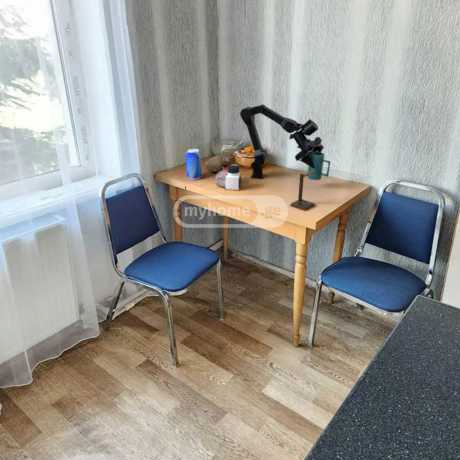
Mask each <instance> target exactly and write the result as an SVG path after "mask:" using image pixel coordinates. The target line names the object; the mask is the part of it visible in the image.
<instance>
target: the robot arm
mask: <svg viewBox="0 0 460 460" xmlns="http://www.w3.org/2000/svg"><path fill="white" fill-rule="evenodd" d="M258 114H261V115H263V116H265V117H266V118H268V119H270V120H271V121H273V122H275V124H278V125H279V126H280V128H281V129H283V130H284V131H285V132H286V133H287V134H289V136H288V140H294V141H295V143H296V144H297V149H300V151H299V152H298V153H296V155H294V159H295V161H296V162H298V161H299V162H301V163H303V164H305V165H306V166H308V167H309V166H310V167H312V168H315V166H314V164H313V162H312V160H311V159H310V153H311V152H321V153H322V152H323V150H324V149H325V147H324V146H323V144H322V142H323V140H322V138H321V137H320V136H316V137H314V139H313V140H312V139H310V138H307V136H308V137H310V136H312V135H313V134H314V133H315V132H317V131H318V130H319V126H318V124H317V123H316V122H314V121H313V120H312V119H311V118H309V119H308V120H307V121H306V122H305V123H299V122H298V121H296V120H295V119H292V118H290V117H285V116H283V115H282V114H280V113H278V112H276V111H274V109H271V108H270V107H268V106H266V105H265V104H264V103H263V104H260V105H256V106H253V107H251V106H246V107H245V108H242V109H241V110H240V112H239V115H240V118H241V119H242V122H243V123H244V124H245V125H246V128H247V132H248V135H249V138H250V141H251V144H252V148H253V158H254V161H253V162H252V163H250V167H251V169H252V174H251V177H250V178H251V179H261V180H262V179H264V172H263V170H264V165H265V164H266V163H267V162H268V159H269V154H268V150H267V149H264V148H263V146H262V143H261V139H260V137H259V133H258V129H257V126H256V123H255V121H256V120H255V119H256V116H255V115H258Z"/></svg>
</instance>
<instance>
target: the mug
mask: <svg viewBox="0 0 460 460" xmlns="http://www.w3.org/2000/svg"><path fill="white" fill-rule="evenodd" d="M325 157H326V156H325V153H323V152H322V151H321V152H311V153H310V159H311V160H312V162H313V164H314V166H315V168H312V167H310V166H309V165H308V168H307V173H309V172H311V171H312V170H314V171H315V173H314V174H311V175H308V176H306V178H307V179H309V180H312V181H320V180H321V179H322V177H323V176H324V177H329V176H330V175H329V174H330V169H331V160H327V159H325ZM324 163H327V169H326V173H323V168H324Z"/></svg>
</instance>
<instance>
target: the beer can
mask: <svg viewBox="0 0 460 460" xmlns="http://www.w3.org/2000/svg"><path fill="white" fill-rule="evenodd" d="M185 165H186V166H185V168H186V177H187V178H188V179H187V180H191V181H198V180H200V179H201V177H202V176H203V171H202V170H203V169H202V153H201V152H200V149H199V148H190V149H187V150H186V154H185Z"/></svg>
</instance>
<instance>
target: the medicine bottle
mask: <svg viewBox="0 0 460 460" xmlns="http://www.w3.org/2000/svg"><path fill="white" fill-rule="evenodd" d="M227 167H228V175H227V176H226V188H225V190H232V191H240V189H241V186H242V173H241V172H240V166H239V165H237V164H229V165H227Z"/></svg>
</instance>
